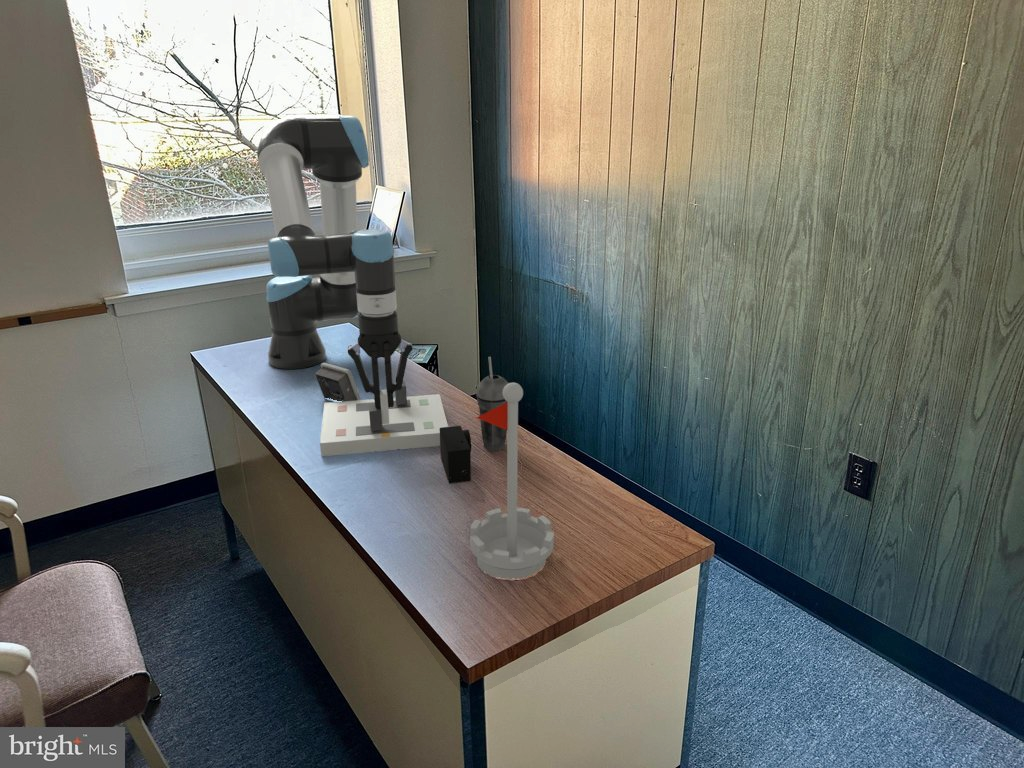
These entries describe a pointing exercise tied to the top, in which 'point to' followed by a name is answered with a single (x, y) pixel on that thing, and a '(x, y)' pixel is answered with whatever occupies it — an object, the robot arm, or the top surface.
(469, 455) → the digital camera
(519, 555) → the flag stand
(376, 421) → the block
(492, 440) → the beverage cup
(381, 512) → the top surface
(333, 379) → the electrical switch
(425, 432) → the breaker panel
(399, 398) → the block
